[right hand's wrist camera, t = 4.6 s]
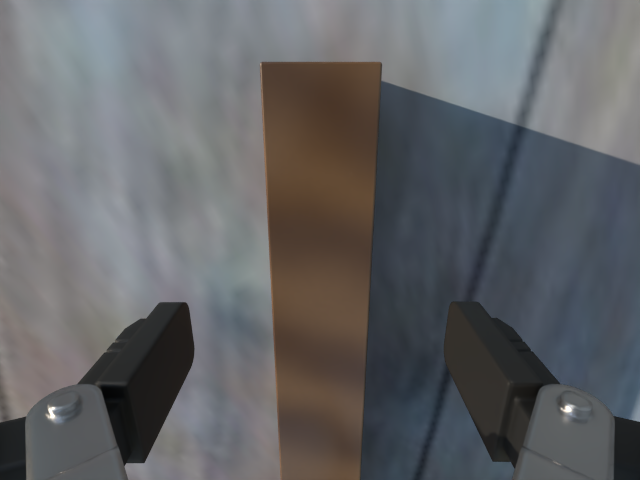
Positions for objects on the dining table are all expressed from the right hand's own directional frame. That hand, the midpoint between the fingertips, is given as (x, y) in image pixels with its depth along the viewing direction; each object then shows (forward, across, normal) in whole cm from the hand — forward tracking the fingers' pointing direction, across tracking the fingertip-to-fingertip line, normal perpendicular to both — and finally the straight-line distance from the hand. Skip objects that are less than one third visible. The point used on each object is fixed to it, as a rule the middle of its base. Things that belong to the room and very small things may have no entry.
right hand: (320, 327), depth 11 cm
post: (+12, 0, -28) cm, 30 cm away
